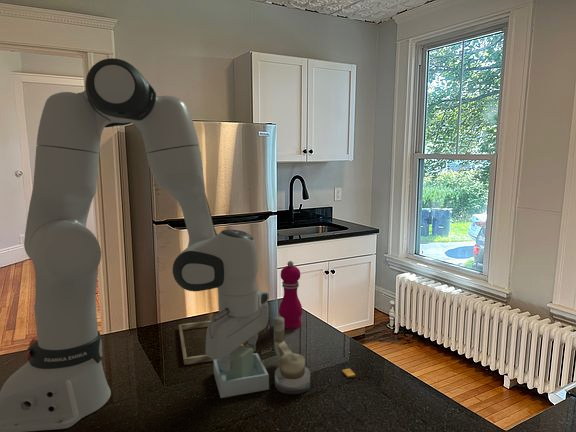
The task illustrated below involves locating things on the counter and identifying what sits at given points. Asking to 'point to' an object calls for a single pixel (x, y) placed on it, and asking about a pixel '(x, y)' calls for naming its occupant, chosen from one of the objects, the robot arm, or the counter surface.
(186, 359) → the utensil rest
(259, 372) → the tray
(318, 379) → the counter surface
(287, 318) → the pepper mill
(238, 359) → the block
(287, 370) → the crank
